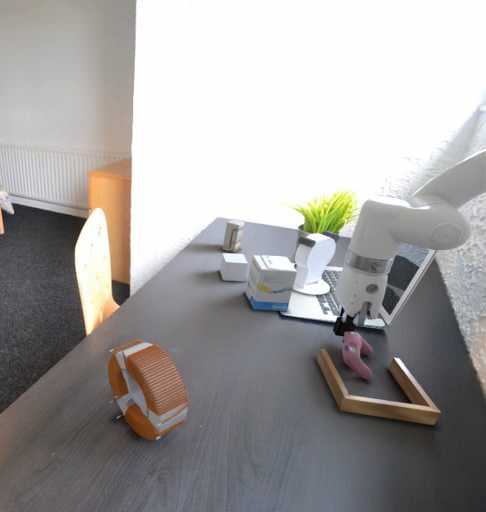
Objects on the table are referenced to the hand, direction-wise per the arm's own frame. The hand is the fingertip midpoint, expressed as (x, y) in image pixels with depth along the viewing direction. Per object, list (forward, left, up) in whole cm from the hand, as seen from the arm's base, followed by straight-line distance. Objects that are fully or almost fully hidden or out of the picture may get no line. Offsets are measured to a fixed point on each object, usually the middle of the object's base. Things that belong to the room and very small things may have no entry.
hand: (341, 334), depth 81 cm
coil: (+41, +31, -2) cm, 51 cm away
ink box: (+13, -14, -2) cm, 19 cm away
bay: (0, +14, -2) cm, 14 cm away
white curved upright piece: (0, -26, -2) cm, 26 cm away
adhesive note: (+20, -27, -2) cm, 33 cm away
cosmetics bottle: (+18, -47, -2) cm, 50 cm away
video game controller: (0, +7, -2) cm, 7 cm away
